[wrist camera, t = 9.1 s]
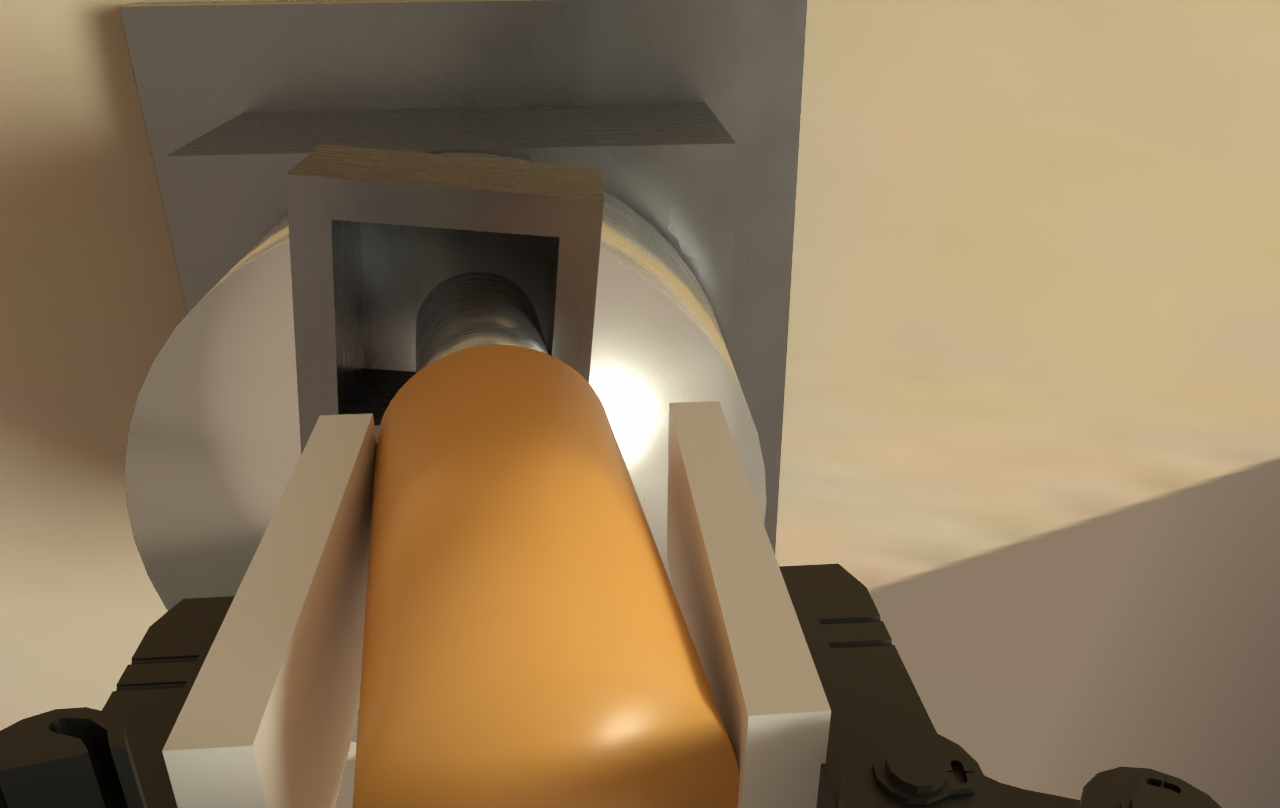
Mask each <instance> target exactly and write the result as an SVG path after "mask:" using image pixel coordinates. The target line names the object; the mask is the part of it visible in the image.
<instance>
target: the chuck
mask: <svg viewBox="0 0 1280 808" xmlns="http://www.w3.org/2000/svg"><path fill="white" fill-rule="evenodd" d="M286 187H287V206H288V214H287V215H286V216H285V217H284V218H282V219H281V220H280V221H279V222H278V223H277V224H276V225H275V226H274V227H273V228H272V229H271V230H270V231H269V232H268V233H267V234H266V235H265V236H264V237H263V238H262V239H261V240H260V241H259V242H258V243H257V244H256V245H255V246H254V247H253V248H252V249H251V250H250V251H249V252H248V253H247V254H246V255H245V256H244V257H243V258H242V259H241V260H240V261H239V262H238V263H237V264H236V265H235V266H234V267H233V268H232V269H231V270H230V271H229V272H228V273H227V274H226V275H225V276H224V277H223V278H222V279H221V280H220V281H219V282H218V283H217V284H216V285H215V286H214V287H213V288H212V289H211V290H210V291H209V292H208V293H207V294H206V295H205V296H204V297H203V298H202V299H201V300H200V301H199V302H198V304H197V305H196V306H195V307H194V308H193V309H192V310H191V311H190V312H189V313H188V314H187V315H186V317H185V318H184V319H183V320H182V321H181V322H180V323H179V324H178V325H177V326H176V328H175V329H174V331H173V332H172V334H171V335H170V337H169V338H168V340H167V341H166V343H165V344H164V346H163V347H162V349H161V350H160V352H159V353H158V355H157V356H156V358H155V359H154V361H153V363H152V366H151V368H150V370H149V372H148V374H147V377H146V379H145V381H144V383H143V385H142V388H141V390H140V392H139V394H138V397H137V401H136V405H135V409H134V412H133V416H132V420H131V424H130V427H129V431H128V440H127V450H126V460H125V482H126V498H127V508H128V512H129V517H130V521H131V526H132V530H133V535H134V539H135V543H136V545H137V548H138V551H139V553H140V556H141V558H142V561H143V564H144V566H145V569H146V571H147V574H148V576H149V578H150V580H151V582H152V583H153V585H154V587H155V589H156V591H157V592H158V594H159V596H160V598H161V600H162V601H163V603H164V605H165V607H166V608H167V610H168V611H169V610H170V609H172V608H173V607H174V606H175V605H176V604H178V603H179V602H180V601H181V600H182V599H187V598H207V597H227V596H235V595H236V593H237V591H238V589H239V587H240V584H241V582H242V580H243V578H244V576H245V574H246V572H247V570H248V567H249V565H250V563H251V561H252V559H253V557H254V555H255V552H256V550H257V548H258V546H259V544H260V542H261V540H262V538H263V535H264V533H265V531H266V529H267V527H268V525H269V523H270V521H271V518H272V516H273V514H274V512H275V510H276V508H277V506H278V504H279V501H280V499H281V497H282V495H283V493H284V491H285V489H286V487H287V484H288V482H289V480H290V478H291V476H292V474H293V472H294V470H295V467H296V465H297V463H298V461H299V459H300V457H301V455H302V453H303V450H304V448H305V446H306V444H307V442H308V440H309V438H310V435H311V433H312V431H313V429H314V427H315V425H316V423H317V421H318V418H319V416H320V415H345V414H372V413H373V418H374V426H375V434H376V441H377V435H378V430H379V426H380V424H381V421H382V418H383V415H384V413H385V411H386V409H387V407H388V406H389V404H390V402H391V400H392V399H393V398H394V396H395V395H396V393H397V392H398V391H399V389H400V388H401V387H402V386H403V385H404V384H405V383H406V382H407V381H408V380H409V379H410V378H411V377H412V376H414V375H415V374H416V318H417V314H418V311H419V308H420V306H421V304H422V302H423V300H424V299H425V297H426V296H427V294H428V293H429V292H430V291H431V290H432V289H433V288H434V287H435V286H436V285H438V284H439V283H440V282H442V281H443V280H445V279H447V278H449V277H451V276H453V275H456V274H460V273H464V272H469V271H485V272H491V273H495V274H498V275H501V276H504V277H506V278H508V279H510V280H511V281H513V282H514V283H516V284H517V285H518V286H519V287H520V288H522V289H523V291H524V292H525V293H526V294H527V295H528V297H529V298H530V300H531V301H532V304H533V306H534V308H535V311H536V314H537V317H538V321H539V324H540V327H541V331H542V334H543V337H544V341H545V344H546V347H547V351H548V354H549V355H551V356H553V357H555V358H557V359H559V360H561V361H562V362H564V363H566V364H567V365H569V366H570V367H572V368H573V369H574V370H576V371H577V372H578V373H579V374H580V375H582V376H583V377H584V378H585V380H586V381H587V382H588V383H589V384H590V385H591V386H592V387H593V389H594V390H595V392H596V393H597V395H598V396H599V398H600V400H601V402H602V404H603V406H604V408H605V410H606V413H607V416H608V418H609V421H610V424H611V426H612V429H613V432H614V434H615V437H616V440H617V442H618V445H619V448H620V450H621V453H622V456H623V458H624V461H625V463H626V466H627V469H628V471H629V474H630V477H631V479H632V482H633V485H634V487H635V490H636V493H637V495H638V498H639V501H640V503H641V506H642V509H643V511H644V514H645V517H646V519H647V522H648V525H649V527H650V530H651V532H652V535H653V538H654V540H655V543H656V546H657V548H658V551H659V554H660V556H661V559H662V562H663V564H664V567H665V570H666V572H667V575H668V578H669V580H670V583H671V586H672V580H671V575H670V570H669V565H668V559H667V505H668V432H669V403H679V402H707V401H719V402H720V405H721V408H722V410H723V413H724V416H725V419H726V421H727V424H728V427H729V430H730V432H731V435H732V438H733V441H734V444H735V446H736V449H737V452H738V455H739V457H740V460H741V463H742V466H743V468H744V471H745V474H746V477H747V479H748V482H749V485H750V488H751V491H752V493H753V496H754V499H755V502H756V504H757V507H758V510H759V513H760V515H761V518H762V521H763V524H764V522H765V512H766V483H765V467H764V462H763V457H762V452H761V447H760V442H759V437H758V432H757V430H756V427H755V424H754V421H753V419H752V416H751V413H750V410H749V408H748V405H747V402H746V400H745V397H744V394H743V391H742V389H741V386H740V383H739V381H738V378H737V375H736V372H735V370H734V367H733V364H732V361H731V359H730V356H729V353H728V351H727V348H726V345H725V342H724V340H723V337H722V334H721V332H720V329H719V326H718V323H717V321H716V318H715V315H714V313H713V310H712V307H711V305H710V303H709V301H708V299H707V297H706V295H705V294H704V292H703V290H702V288H701V286H700V284H699V282H698V281H697V279H696V277H695V275H694V274H693V273H692V271H691V270H690V269H689V267H688V266H687V265H686V263H685V262H684V260H683V259H682V258H681V256H680V255H679V254H678V252H677V251H676V250H675V248H674V247H673V246H672V245H671V244H670V243H669V242H668V241H667V240H666V239H665V238H664V237H663V236H662V235H661V234H660V233H659V232H658V231H657V230H656V229H655V228H654V227H653V226H652V225H651V224H650V223H649V222H647V221H646V220H645V219H644V218H642V217H641V216H640V215H639V214H637V213H636V212H635V211H634V210H632V209H631V208H630V207H629V206H627V205H626V204H625V203H623V202H622V201H620V200H618V199H617V198H615V197H613V196H612V195H610V194H608V193H607V192H605V191H603V187H602V178H601V170H600V168H597V167H585V166H573V165H562V164H550V163H538V162H531V161H528V160H524V159H520V158H513V157H506V156H500V155H493V154H487V153H448V152H447V153H438V154H432V153H420V152H408V151H396V150H384V149H373V148H361V147H349V146H337V145H325V144H320V145H319V146H318V147H317V148H316V149H315V150H313V151H312V152H311V153H310V154H309V155H308V156H306V157H305V158H304V159H303V160H302V161H301V162H299V163H298V164H297V165H296V166H295V167H294V168H292V169H291V170H290V171H289V172H288V173H287V174H286ZM672 588H673V586H672ZM358 716H359V710H358V715H357V719H356V723H355V727H354V731H353V735H352V739H351V741H354V742H357V732H358Z"/></svg>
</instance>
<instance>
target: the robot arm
mask: <svg viewBox="0 0 1280 808" xmlns="http://www.w3.org/2000/svg"><path fill="white" fill-rule="evenodd" d="M376 447H377V442H376V434H375V426H374V418H373V413H372V414H345V415H320V416H319V418H318V421H317V423H316V425H315V427H314V429H313V431H312V433H311V435H310V438H309V440H308V442H307V444H306V446H305V448H304V450H303V453H302V455H301V457H300V459H299V461H298V463H297V465H296V467H295V470H294V472H293V474H292V476H291V478H290V480H289V482H288V484H287V487H286V489H285V491H284V493H283V495H282V497H281V499H280V501H279V504H278V506H277V508H276V510H275V512H274V514H273V516H272V518H271V521H270V523H269V525H268V527H267V529H266V531H265V533H264V535H263V538H262V540H261V542H260V544H259V546H258V548H257V550H256V552H255V555H254V557H253V559H252V561H251V563H250V565H249V567H248V570H247V572H246V574H245V576H244V578H243V580H242V582H241V584H240V587H239V589H238V591H237V593H236V595H235V596H227V597H207V598H187V599H182V600H181V601H180V602H179V603H178V604H176V605H175V606H174V607H173V608H172V609H170V610H169V611H168V612H167V613H166V614H165V615H163V616H162V617H161V618H160V619H159V620H157V621H156V622H155V623H154V624H153V625H151V626H150V627H149V629H148V631H147V633H146V634H145V636H144V638H143V640H142V641H141V643H140V645H139V647H138V648H137V650H136V652H135V654H134V655H133V657H132V664H131V665H128V666H127V668H126V669H125V671H124V673H123V675H122V676H121V678H120V680H119V682H118V683H117V690H116V691H113V692H112V694H111V696H110V697H109V699H108V701H107V703H106V704H105V706H104V708H103V710H102V711H99V710H95V709H91V708H86V707H84V708H70V709H56V710H52V711H49V712H46V713H42V714H39V715H36V716H32V717H29V718H26V719H23V720H21V721H19V722H17V723H15V724H13V725H11V726H9V727H7V728H5V729H3V730H2V731H0V808H335V805H336V801H337V797H338V793H339V788H340V785H341V780H342V776H343V772H344V768H345V764H346V760H347V756H348V752H349V748H350V743H351V739H352V735H353V731H354V727H355V723H356V719H357V715H358V710H359V701H360V685H361V670H362V655H363V639H364V624H365V608H366V593H367V577H368V562H369V546H370V531H371V515H372V500H373V484H374V469H375V455H376ZM667 559H668V565H669V570H670V575H671V580H672V586H673V591H674V594H675V596H676V599H677V601H678V604H679V607H680V609H681V612H682V615H683V617H684V620H685V623H686V625H687V628H688V631H689V633H690V636H691V639H692V641H693V644H694V647H695V649H696V652H697V655H698V657H699V660H700V663H701V665H702V668H703V671H704V673H705V676H706V678H707V681H708V684H709V686H710V689H711V692H712V694H713V697H714V700H715V702H716V705H717V708H718V710H719V713H720V716H721V718H722V721H723V724H724V726H725V729H726V732H727V734H728V737H729V740H730V742H731V745H732V747H733V750H734V754H735V757H736V761H737V764H738V769H739V795H738V805H737V808H1221V807H1220V806H1219V805H1218V804H1217V803H1216V802H1215V801H1214V800H1213V799H1212V798H1211V797H1210V796H1209V795H1207V794H1205V793H1204V792H1202V791H1200V790H1199V789H1197V788H1195V787H1193V786H1192V785H1190V784H1188V783H1186V782H1185V781H1183V780H1181V779H1179V778H1176V777H1173V776H1170V775H1167V774H1164V773H1161V772H1158V771H1155V770H1152V769H1146V768H1131V767H1130V768H1129V767H1118V768H1115V769H1111V770H1107V771H1104V772H1100V773H1098V774H1096V775H1095V777H1093V778H1092V779H1091V780H1090V781H1089V782H1088V783H1087V784H1086V785H1085V786H1084V788H1083V792H1082V796H1081V799H1080V800H1076V799H1070V798H1065V797H1060V796H1055V795H1050V794H1045V793H1040V792H1034V791H1029V790H1024V789H1020V788H1017V787H1013V786H1009V785H1006V784H1002V783H999V782H997V781H995V780H993V779H991V778H988V777H986V776H984V775H983V773H982V771H981V769H980V767H979V765H978V763H977V762H976V761H975V760H974V759H973V758H972V757H971V756H970V755H969V754H968V753H967V752H966V751H965V750H963V748H961V747H960V746H959V745H958V744H956V743H954V742H952V741H950V740H948V739H946V738H945V737H943V736H941V735H939V734H937V732H936V730H935V728H934V726H933V724H932V722H931V720H930V718H929V716H928V714H927V712H926V710H925V708H924V706H923V704H922V701H921V700H920V697H919V696H918V693H917V691H916V689H915V687H914V685H913V683H912V681H911V679H910V677H909V675H908V673H907V670H906V669H905V666H904V664H903V662H902V660H901V658H900V656H899V654H898V652H897V650H896V648H895V646H894V645H892V643H891V637H890V636H889V633H888V631H887V629H886V627H885V625H884V623H883V622H881V621H880V615H879V613H878V611H877V608H876V606H875V604H874V602H873V600H872V598H871V596H870V594H869V592H868V590H867V588H866V587H865V586H864V585H863V584H862V583H860V582H859V581H858V580H857V579H856V578H855V577H853V576H852V575H851V574H850V573H849V572H847V571H846V570H845V569H844V568H843V567H842V566H840V565H839V564H825V565H804V566H783V567H779V565H778V562H777V560H776V557H775V554H774V551H773V549H772V546H771V543H770V540H769V538H768V535H767V532H766V529H765V526H764V524H763V521H762V518H761V515H760V513H759V510H758V507H757V504H756V502H755V499H754V496H753V493H752V491H751V488H750V485H749V482H748V479H747V477H746V474H745V471H744V468H743V466H742V463H741V460H740V457H739V455H738V452H737V449H736V446H735V444H734V441H733V438H732V435H731V432H730V430H729V427H728V424H727V421H726V419H725V416H724V413H723V410H722V408H721V405H720V402H719V401H707V402H679V403H669V432H668V505H667Z"/></svg>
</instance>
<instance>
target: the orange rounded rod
mask: <svg viewBox="0 0 1280 808" xmlns="http://www.w3.org/2000/svg"><path fill="white" fill-rule="evenodd" d="M376 442H377V447H376V455H375V469H374V484H373V500H372V515H371V531H370V546H369V562H368V577H367V593H366V608H365V624H364V639H363V655H362V670H361V685H360V701H359V716H358V732H357V747H356V764H355V779H354V794H353V808H737V805H738V795H739V769H738V764H737V761H736V757H735V754H734V750H733V747H732V745H731V742H730V740H729V737H728V734H727V732H726V729H725V726H724V724H723V721H722V718H721V716H720V713H719V710H718V708H717V705H716V702H715V700H714V697H713V694H712V692H711V689H710V686H709V684H708V681H707V678H706V676H705V673H704V671H703V668H702V665H701V663H700V660H699V657H698V655H697V652H696V649H695V647H694V644H693V641H692V639H691V636H690V633H689V631H688V628H687V625H686V623H685V620H684V617H683V615H682V612H681V609H680V607H679V604H678V601H677V599H676V596H675V594H674V591H673V588H672V586H671V583H670V580H669V578H668V575H667V572H666V570H665V567H664V564H663V562H662V559H661V556H660V554H659V551H658V548H657V546H656V543H655V540H654V538H653V535H652V532H651V530H650V527H649V525H648V522H647V519H646V517H645V514H644V511H643V509H642V506H641V503H640V501H639V498H638V495H637V493H636V490H635V487H634V485H633V482H632V479H631V477H630V474H629V471H628V469H627V466H626V463H625V461H624V458H623V456H622V453H621V450H620V448H619V445H618V442H617V440H616V437H615V434H614V432H613V429H612V426H611V424H610V421H609V418H608V416H607V413H606V410H605V408H604V406H603V404H602V402H601V400H600V398H599V396H598V395H597V393H596V392H595V390H594V389H593V387H592V386H591V385H590V384H589V383H588V382H587V381H586V380H585V378H584V377H583V376H582V375H580V374H579V373H578V372H577V371H576V370H574V369H573V368H572V367H570V366H569V365H567V364H566V363H564V362H562V361H561V360H559V359H557V358H555V357H553V356H551V355H549V354H548V351H547V347H546V344H545V341H544V337H543V334H542V331H541V327H540V324H539V321H538V317H537V314H536V311H535V308H534V306H533V304H532V301H531V300H530V298H529V297H528V295H527V294H526V293H525V292H524V291H523V289H522V288H520V287H519V286H518V285H517V284H516V283H514V282H513V281H511V280H510V279H508V278H506V277H504V276H501V275H498V274H495V273H491V272H485V271H469V272H464V273H460V274H456V275H453V276H451V277H449V278H447V279H445V280H443V281H442V282H440V283H439V284H438V285H436V286H435V287H434V288H433V289H432V290H431V291H430V292H429V293H428V294H427V296H426V297H425V299H424V300H423V302H422V304H421V306H420V308H419V311H418V314H417V318H416V374H415V375H414V376H412V377H411V378H410V379H409V380H408V381H407V382H406V383H405V384H404V385H403V386H402V387H401V388H400V389H399V391H398V392H397V393H396V395H395V396H394V398H393V399H392V400H391V402H390V404H389V406H388V407H387V409H386V411H385V413H384V415H383V418H382V421H381V424H380V426H379V430H378V435H377V441H376Z"/></svg>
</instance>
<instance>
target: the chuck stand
mask: <svg viewBox="0 0 1280 808" xmlns="http://www.w3.org/2000/svg"><path fill="white" fill-rule="evenodd" d="M119 8H120V13H121V17H122V22H123V27H124V31H125V36H126V40H127V45H128V49H129V54H130V58H131V63H132V67H133V72H134V76H135V81H136V85H137V90H138V94H139V99H140V103H141V108H142V112H143V117H144V121H145V126H146V130H147V135H148V139H149V144H150V148H151V153H152V158H153V162H154V167H155V171H156V176H157V180H158V185H159V189H160V194H161V198H162V203H163V207H164V212H165V216H166V221H167V225H168V230H169V234H170V239H171V243H172V248H173V252H174V257H175V261H176V266H177V270H178V275H179V280H180V284H181V289H182V293H183V298H184V302H185V307H186V311H187V314H188V313H189V312H190V311H191V310H192V309H193V308H194V307H195V306H196V305H197V304H198V302H199V301H200V300H201V299H202V298H203V297H204V296H205V295H206V294H207V293H208V292H209V291H210V290H211V289H212V288H213V287H214V286H215V285H216V284H217V283H218V282H219V281H220V280H221V279H222V278H223V277H224V276H225V275H226V274H227V273H228V272H229V271H230V270H231V269H232V268H233V267H234V266H235V265H236V264H237V263H238V262H239V261H240V260H241V259H242V258H243V257H244V256H245V255H246V254H247V253H248V252H249V251H250V250H251V249H252V248H253V247H254V246H255V245H256V244H257V243H258V242H259V241H260V240H261V239H262V238H263V237H264V236H265V235H266V234H267V233H268V232H269V231H270V230H271V229H272V228H273V227H274V226H275V225H276V224H277V223H278V222H279V221H280V220H281V219H282V218H284V217H285V216H286V215H287V214H288V206H287V187H286V174H287V173H288V172H289V171H290V170H291V169H292V168H294V167H295V166H296V165H297V164H298V163H299V162H301V161H302V160H303V159H304V158H305V157H306V156H308V155H309V154H310V153H311V152H312V151H313V150H315V149H316V148H317V147H318V146H319V145H320V144H325V145H337V146H349V147H361V148H373V149H384V150H396V151H408V152H420V153H432V154H438V153H447V152H448V153H487V154H493V155H500V156H506V157H513V158H520V159H524V160H528V161H531V162H538V163H550V164H562V165H573V166H585V167H597V168H600V170H601V178H602V187H603V191H605V192H607V193H608V194H610V195H612V196H613V197H615V198H617V199H618V200H620V201H622V202H623V203H625V204H626V205H627V206H629V207H630V208H631V209H632V210H634V211H635V212H636V213H637V214H639V215H640V216H641V217H642V218H644V219H645V220H646V221H647V222H649V223H650V224H651V225H652V226H653V227H654V228H655V229H656V230H657V231H658V232H659V233H660V234H661V235H662V236H663V237H664V238H665V239H666V240H667V241H668V242H669V243H670V244H671V245H672V246H673V247H674V248H675V250H676V251H677V252H678V254H679V255H680V256H681V258H682V259H683V260H684V262H685V263H686V265H687V266H688V267H689V269H690V270H691V271H692V273H693V274H694V275H695V277H696V279H697V281H698V282H699V284H700V286H701V288H702V290H703V292H704V294H705V295H706V297H707V299H708V301H709V303H710V305H711V307H712V310H713V313H714V315H715V318H716V321H717V323H718V326H719V329H720V332H721V334H722V337H723V340H724V342H725V345H726V348H727V351H728V353H729V356H730V359H731V361H732V364H733V367H734V370H735V372H736V375H737V378H738V381H739V383H740V386H741V389H742V391H743V394H744V397H745V400H746V402H747V405H748V408H749V410H750V413H751V416H752V419H753V421H754V424H755V427H756V430H757V432H758V437H759V442H760V447H761V452H762V457H763V462H764V467H765V483H766V512H765V522H764V526H765V529H766V532H767V535H768V538H769V540H770V543H771V546H772V549H773V551H774V554H775V543H776V526H777V509H778V491H779V474H780V457H781V440H782V423H783V405H784V388H785V371H786V354H787V337H788V320H789V302H790V285H791V268H792V251H793V234H794V216H795V199H796V182H797V165H798V148H799V130H800V113H801V96H802V79H803V62H804V44H805V27H806V10H807V0H319V1H252V2H185V3H138V4H132V5H126V6H120V7H119Z"/></svg>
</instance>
